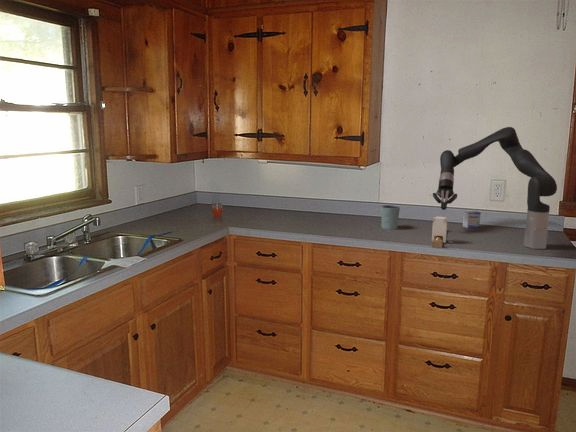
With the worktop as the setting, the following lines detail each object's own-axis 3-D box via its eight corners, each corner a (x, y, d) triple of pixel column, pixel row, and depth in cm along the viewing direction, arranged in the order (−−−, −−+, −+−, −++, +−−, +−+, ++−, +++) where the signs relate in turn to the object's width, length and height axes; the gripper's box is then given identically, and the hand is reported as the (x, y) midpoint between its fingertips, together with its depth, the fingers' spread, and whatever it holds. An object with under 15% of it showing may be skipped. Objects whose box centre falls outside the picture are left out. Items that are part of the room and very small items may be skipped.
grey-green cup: (385, 230, 269) (386, 208, 267) (376, 226, 279) (377, 205, 276) (402, 229, 272) (403, 207, 269) (393, 225, 281) (394, 204, 279)
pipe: (437, 230, 271) (438, 224, 270) (454, 231, 268) (455, 225, 267) (432, 247, 236) (432, 240, 235) (451, 249, 233) (451, 242, 232)
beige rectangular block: (432, 239, 249) (433, 216, 247) (445, 240, 247) (447, 217, 245) (431, 241, 245) (433, 218, 242) (445, 242, 242) (446, 219, 240)
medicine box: (467, 228, 275) (468, 212, 274) (462, 226, 280) (463, 211, 278) (479, 227, 278) (480, 212, 276) (474, 225, 282) (475, 210, 280)
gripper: (459, 187, 269) (456, 214, 260) (433, 186, 274) (430, 212, 265) (459, 178, 263) (457, 205, 254) (433, 177, 268) (430, 204, 259)
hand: (443, 209), depth 260 cm, fingers closed
